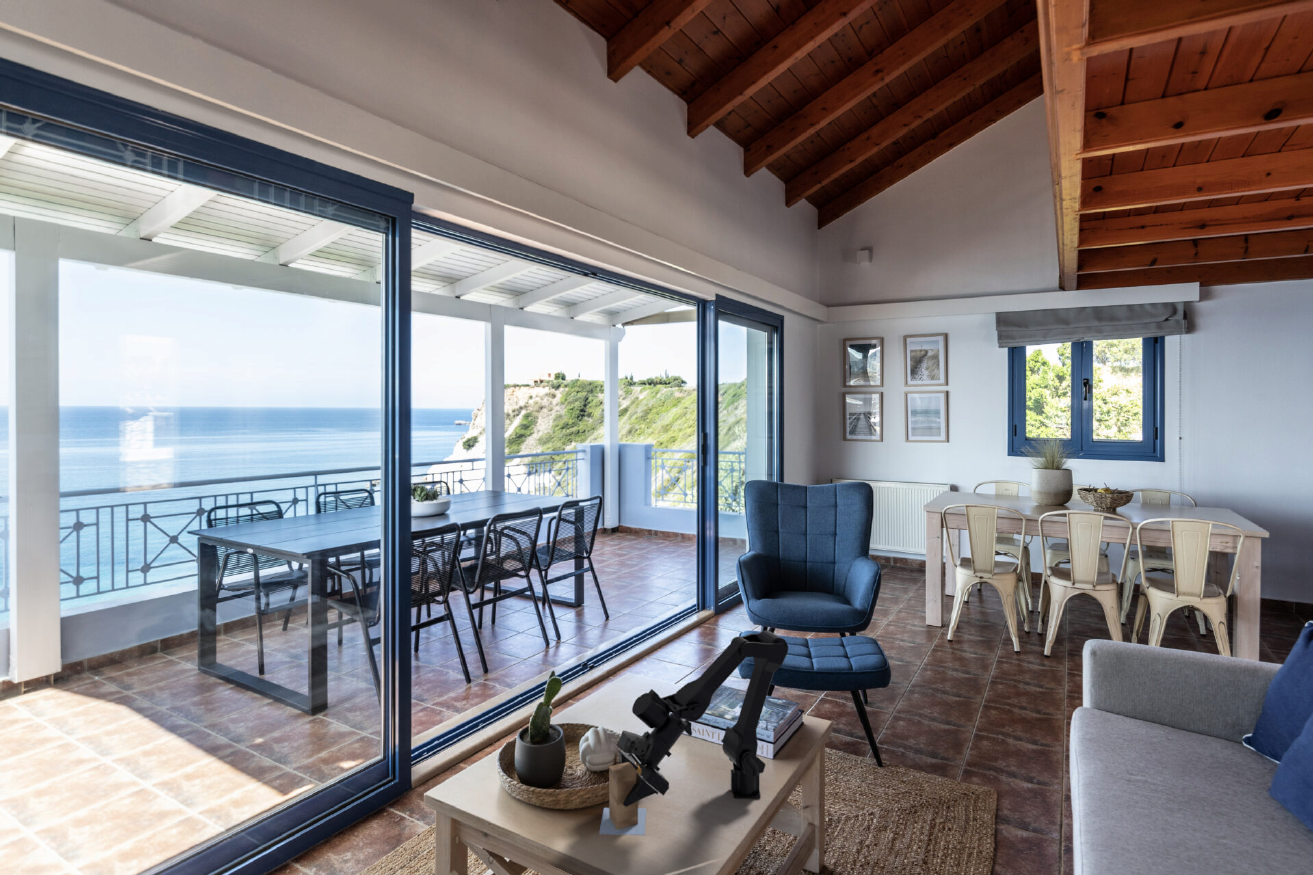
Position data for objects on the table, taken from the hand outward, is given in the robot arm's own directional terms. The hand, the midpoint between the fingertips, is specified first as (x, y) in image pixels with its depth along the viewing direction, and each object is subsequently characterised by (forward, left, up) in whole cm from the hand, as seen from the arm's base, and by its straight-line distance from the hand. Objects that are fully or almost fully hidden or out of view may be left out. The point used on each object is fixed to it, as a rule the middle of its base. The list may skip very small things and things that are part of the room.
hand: (617, 796), depth 157 cm
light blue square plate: (-1, -1, -7) cm, 7 cm away
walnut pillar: (-1, -1, -6) cm, 6 cm away
